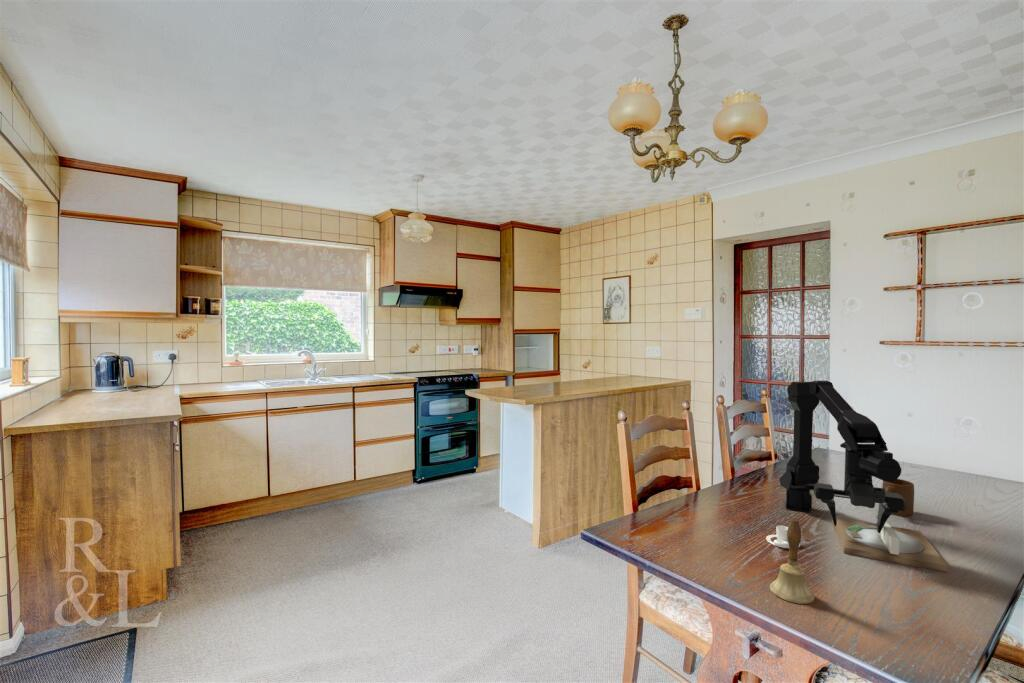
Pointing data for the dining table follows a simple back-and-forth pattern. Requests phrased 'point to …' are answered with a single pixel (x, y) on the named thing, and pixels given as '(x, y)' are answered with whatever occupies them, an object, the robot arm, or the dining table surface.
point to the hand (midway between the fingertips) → (856, 528)
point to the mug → (902, 494)
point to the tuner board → (867, 544)
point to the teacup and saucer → (780, 537)
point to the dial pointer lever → (889, 538)
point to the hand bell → (792, 572)
